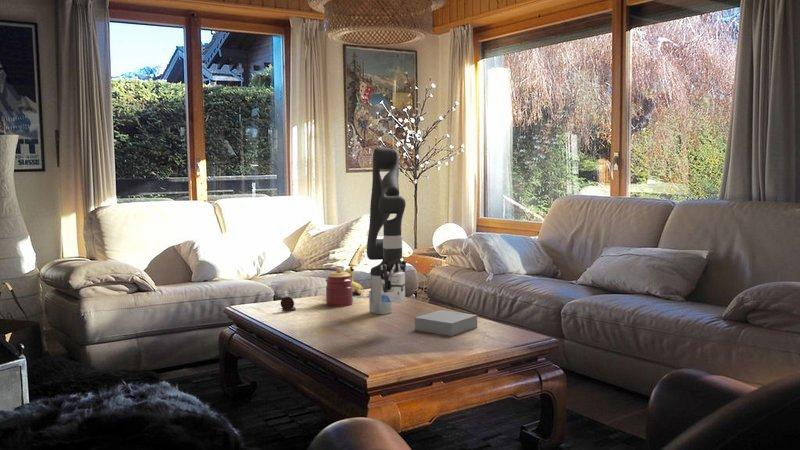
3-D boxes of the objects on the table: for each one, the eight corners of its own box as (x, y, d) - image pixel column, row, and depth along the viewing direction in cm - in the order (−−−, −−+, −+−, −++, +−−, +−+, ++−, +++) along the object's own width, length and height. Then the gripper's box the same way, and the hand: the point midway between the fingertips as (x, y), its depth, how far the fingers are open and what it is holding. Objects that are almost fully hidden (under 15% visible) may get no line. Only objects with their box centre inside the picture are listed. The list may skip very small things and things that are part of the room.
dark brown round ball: (296, 308, 326) (296, 293, 325) (293, 312, 318) (293, 296, 318) (279, 309, 326) (279, 293, 326) (276, 312, 318) (275, 296, 318)
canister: (351, 306, 329) (351, 269, 327) (324, 307, 329) (323, 270, 327) (354, 301, 342) (353, 265, 340) (327, 301, 342) (326, 266, 340)
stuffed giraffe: (334, 294, 363) (335, 263, 361) (367, 292, 369) (368, 262, 367) (343, 300, 348) (344, 269, 346) (377, 299, 354) (378, 268, 353)
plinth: (415, 329, 280) (414, 317, 280) (441, 321, 294) (440, 309, 294) (452, 336, 269) (451, 323, 269) (477, 327, 283) (477, 315, 282)
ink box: (380, 301, 276) (380, 272, 275) (385, 299, 280) (385, 270, 279) (400, 303, 272) (400, 273, 271) (405, 301, 277) (405, 271, 276)
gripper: (396, 244, 282) (397, 285, 284) (373, 247, 271) (374, 290, 273) (411, 245, 278) (411, 287, 279) (388, 249, 267) (388, 292, 268)
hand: (393, 288), depth 276 cm, fingers closed on ink box, 5 cm apart
